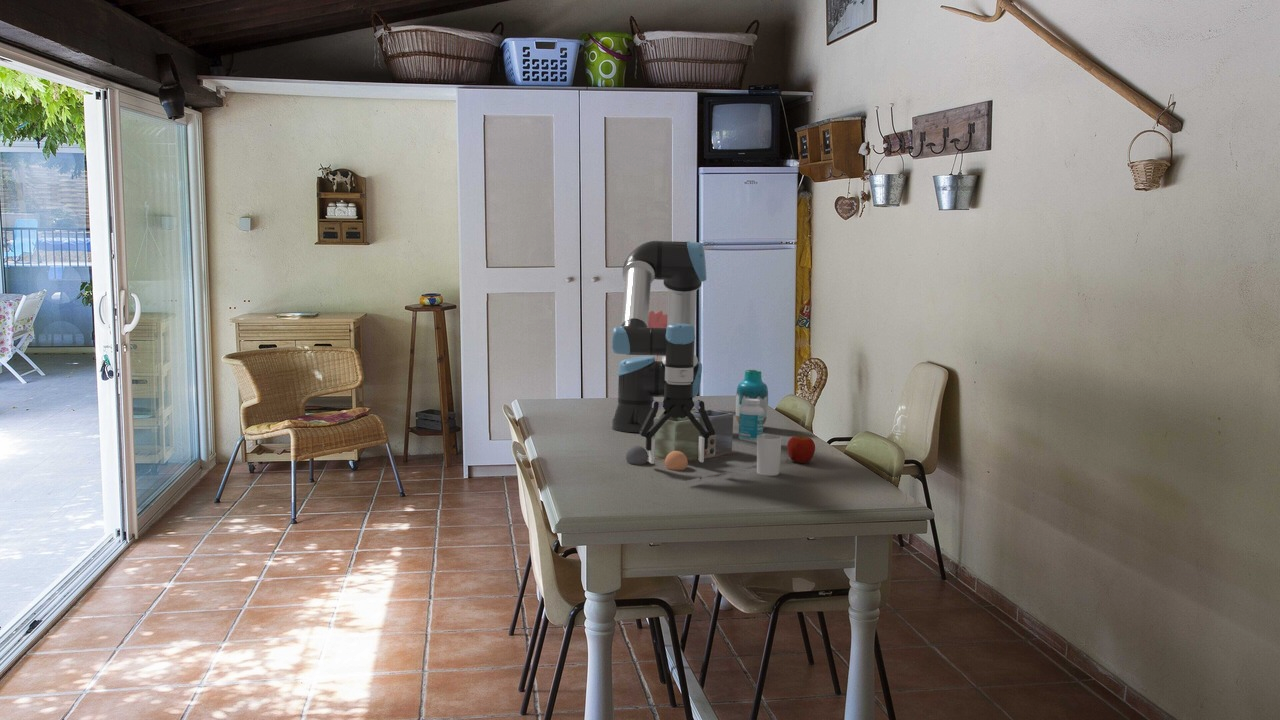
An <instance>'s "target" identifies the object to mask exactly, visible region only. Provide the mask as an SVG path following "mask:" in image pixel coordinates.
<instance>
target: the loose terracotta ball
mask: <svg viewBox="0 0 1280 720" xmlns="http://www.w3.org/2000/svg"><path fill="white" fill-rule="evenodd" d="M688 463H689V462H688V461H687V457H686V456H685V454H684V453H682V452H680V451H672V452H670V453H669V454H668V455H667V457H666V459H665V461H664V466H665V468H666V469H668V470H671V471H683V470H686V469H687V466H688Z"/></svg>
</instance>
